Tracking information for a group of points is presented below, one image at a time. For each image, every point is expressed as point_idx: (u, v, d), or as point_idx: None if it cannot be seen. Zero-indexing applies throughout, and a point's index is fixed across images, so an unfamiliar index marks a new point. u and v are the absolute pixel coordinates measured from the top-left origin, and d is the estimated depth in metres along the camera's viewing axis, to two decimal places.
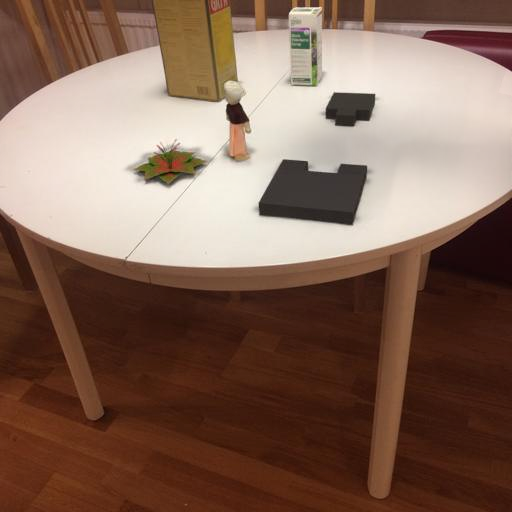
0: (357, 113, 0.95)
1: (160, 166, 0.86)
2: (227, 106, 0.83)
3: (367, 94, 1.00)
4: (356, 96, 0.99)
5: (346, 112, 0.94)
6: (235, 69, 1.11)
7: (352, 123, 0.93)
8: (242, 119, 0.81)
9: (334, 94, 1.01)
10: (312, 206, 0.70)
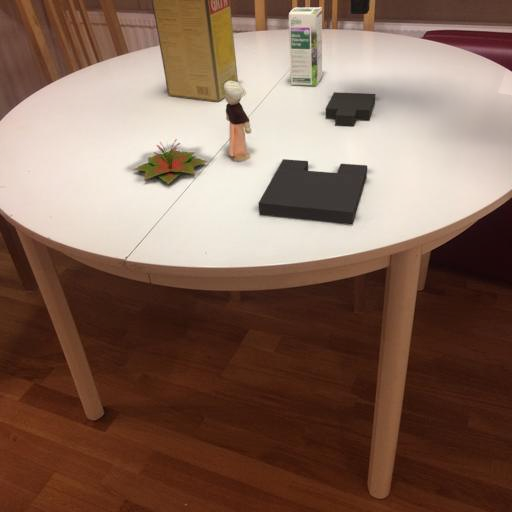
0: (357, 113, 0.95)
1: (160, 166, 0.86)
2: (227, 106, 0.83)
3: (367, 94, 1.00)
4: (356, 96, 0.99)
5: (346, 112, 0.94)
6: (235, 69, 1.11)
7: (352, 123, 0.93)
8: (242, 119, 0.81)
9: (334, 94, 1.01)
10: (312, 206, 0.70)
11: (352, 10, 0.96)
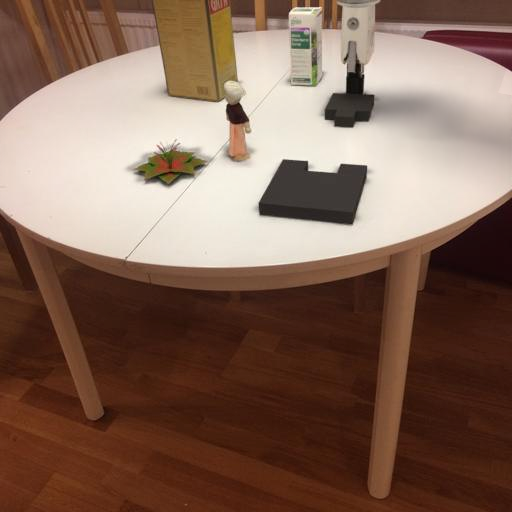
0: (356, 114, 0.94)
1: (160, 166, 0.86)
2: (227, 106, 0.83)
3: (366, 95, 0.99)
4: (355, 97, 0.99)
5: (345, 113, 0.94)
6: (235, 69, 1.11)
7: (351, 124, 0.93)
8: (242, 119, 0.81)
9: (333, 95, 1.01)
10: (312, 206, 0.70)
11: (347, 93, 1.02)
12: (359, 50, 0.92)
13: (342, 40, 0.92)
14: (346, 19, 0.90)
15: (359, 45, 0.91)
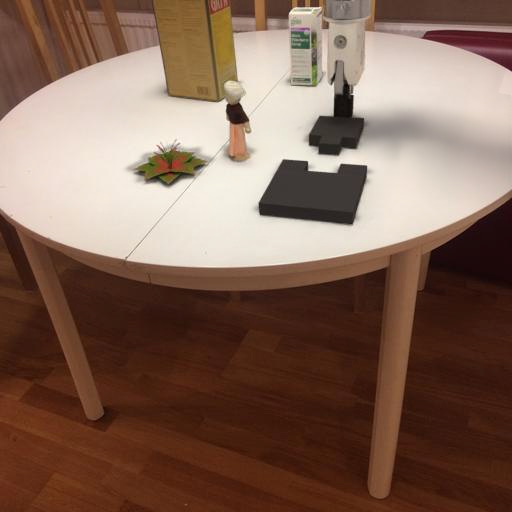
0: (343, 141, 0.86)
1: (160, 166, 0.86)
2: (227, 106, 0.83)
3: (355, 118, 0.91)
4: (343, 121, 0.91)
5: (331, 140, 0.86)
6: (235, 69, 1.11)
7: (337, 152, 0.85)
8: (242, 119, 0.81)
9: (319, 118, 0.93)
10: (312, 206, 0.70)
11: (335, 115, 0.93)
12: (347, 70, 0.84)
13: (328, 59, 0.84)
14: (333, 37, 0.82)
15: (347, 65, 0.83)
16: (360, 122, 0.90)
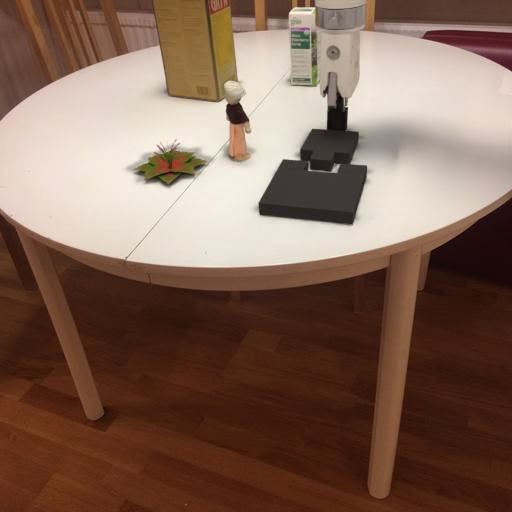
0: (336, 156, 0.82)
1: (160, 166, 0.86)
2: (227, 106, 0.83)
3: (349, 132, 0.87)
4: (336, 134, 0.87)
5: (323, 155, 0.81)
6: (235, 69, 1.11)
7: (329, 168, 0.81)
8: (242, 119, 0.81)
9: (312, 131, 0.89)
10: (312, 206, 0.70)
11: (329, 128, 0.89)
12: (340, 83, 0.80)
13: (321, 71, 0.80)
14: (325, 47, 0.78)
15: (340, 77, 0.79)
16: (354, 136, 0.86)
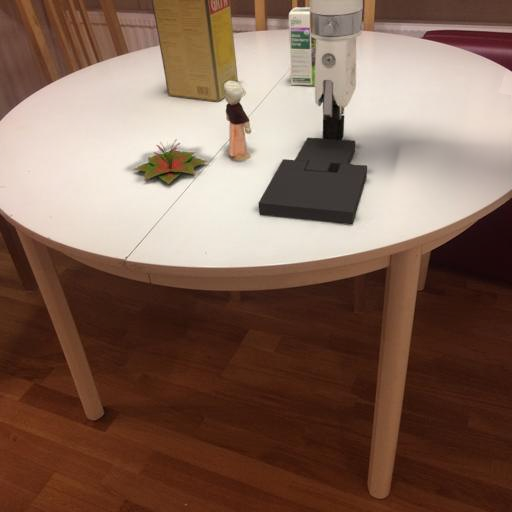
0: (331, 166, 0.80)
1: (160, 166, 0.86)
2: (227, 106, 0.83)
3: (346, 141, 0.85)
4: (332, 143, 0.84)
5: (318, 166, 0.79)
6: (235, 69, 1.11)
7: None
8: (242, 119, 0.81)
9: (307, 140, 0.86)
10: (312, 206, 0.70)
11: (324, 137, 0.87)
12: (336, 91, 0.77)
13: (316, 79, 0.77)
14: (320, 55, 0.75)
15: (336, 85, 0.77)
16: (351, 145, 0.83)
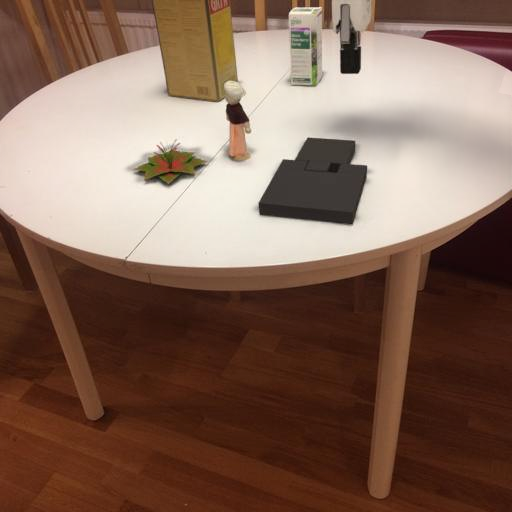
0: (332, 166, 0.80)
1: (160, 166, 0.86)
2: (227, 106, 0.83)
3: (346, 141, 0.85)
4: (332, 143, 0.84)
5: (318, 166, 0.79)
6: (235, 69, 1.11)
7: None
8: (242, 119, 0.81)
9: (307, 140, 0.86)
10: (312, 206, 0.70)
11: (342, 70, 0.88)
12: (353, 15, 0.78)
13: (333, 4, 0.79)
14: None
15: (353, 9, 0.78)
16: (351, 145, 0.83)
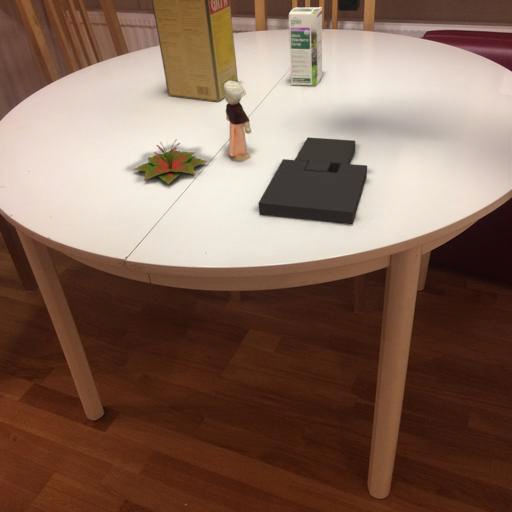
0: (332, 166, 0.80)
1: (160, 166, 0.86)
2: (227, 106, 0.83)
3: (346, 141, 0.85)
4: (332, 143, 0.84)
5: (318, 166, 0.79)
6: (235, 69, 1.11)
7: None
8: (242, 119, 0.81)
9: (307, 140, 0.86)
10: (312, 206, 0.70)
11: (340, 6, 0.83)
12: None
13: None
14: None
15: None
16: (351, 145, 0.83)
